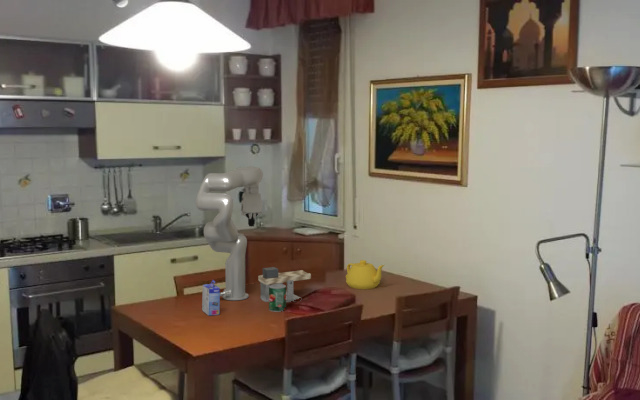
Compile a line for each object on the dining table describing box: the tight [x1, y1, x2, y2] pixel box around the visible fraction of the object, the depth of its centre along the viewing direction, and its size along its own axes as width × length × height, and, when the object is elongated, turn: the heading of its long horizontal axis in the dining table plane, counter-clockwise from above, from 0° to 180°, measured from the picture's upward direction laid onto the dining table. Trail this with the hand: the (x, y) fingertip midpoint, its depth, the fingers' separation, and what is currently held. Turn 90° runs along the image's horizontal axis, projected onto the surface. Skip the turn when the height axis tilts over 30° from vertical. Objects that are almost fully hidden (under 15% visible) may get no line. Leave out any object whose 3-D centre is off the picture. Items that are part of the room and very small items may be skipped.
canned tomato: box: [268, 283, 287, 313], centre depth 298 cm, size 8×8×11 cm
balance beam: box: [257, 269, 312, 285], centre depth 318 cm, size 24×9×3 cm, turn 119°
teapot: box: [345, 259, 385, 290], centre depth 344 cm, size 25×18×14 cm
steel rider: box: [262, 266, 279, 279], centre depth 314 cm, size 6×5×5 cm
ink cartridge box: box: [201, 279, 221, 317], centre depth 292 cm, size 10×6×14 cm, turn 27°
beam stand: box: [260, 280, 301, 303], centre depth 317 cm, size 16×16×10 cm
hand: (251, 226), depth 337 cm, fingers closed
